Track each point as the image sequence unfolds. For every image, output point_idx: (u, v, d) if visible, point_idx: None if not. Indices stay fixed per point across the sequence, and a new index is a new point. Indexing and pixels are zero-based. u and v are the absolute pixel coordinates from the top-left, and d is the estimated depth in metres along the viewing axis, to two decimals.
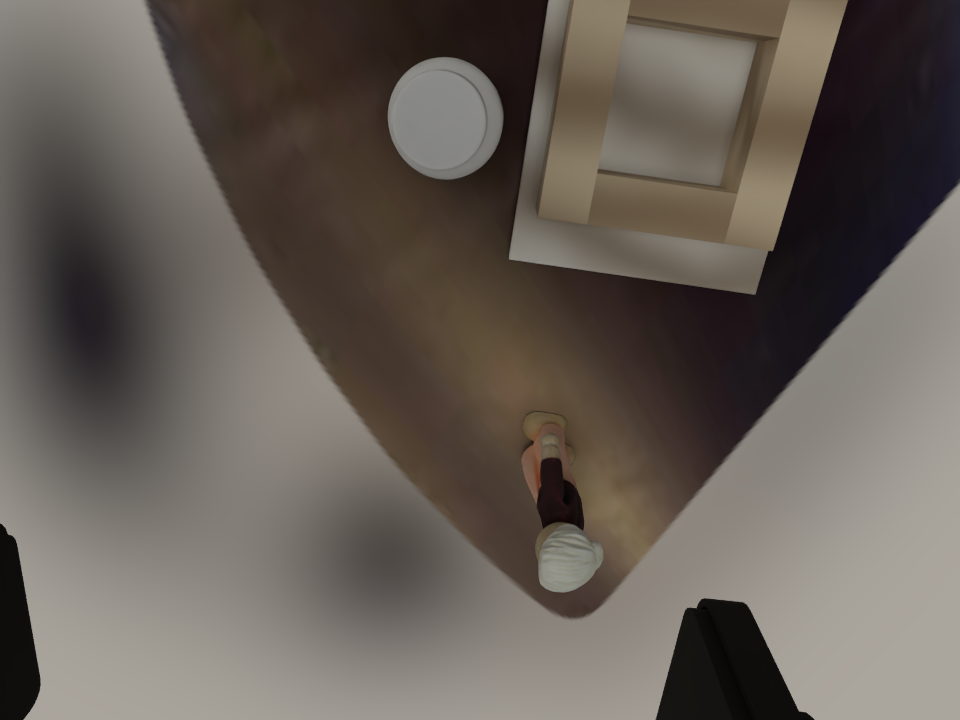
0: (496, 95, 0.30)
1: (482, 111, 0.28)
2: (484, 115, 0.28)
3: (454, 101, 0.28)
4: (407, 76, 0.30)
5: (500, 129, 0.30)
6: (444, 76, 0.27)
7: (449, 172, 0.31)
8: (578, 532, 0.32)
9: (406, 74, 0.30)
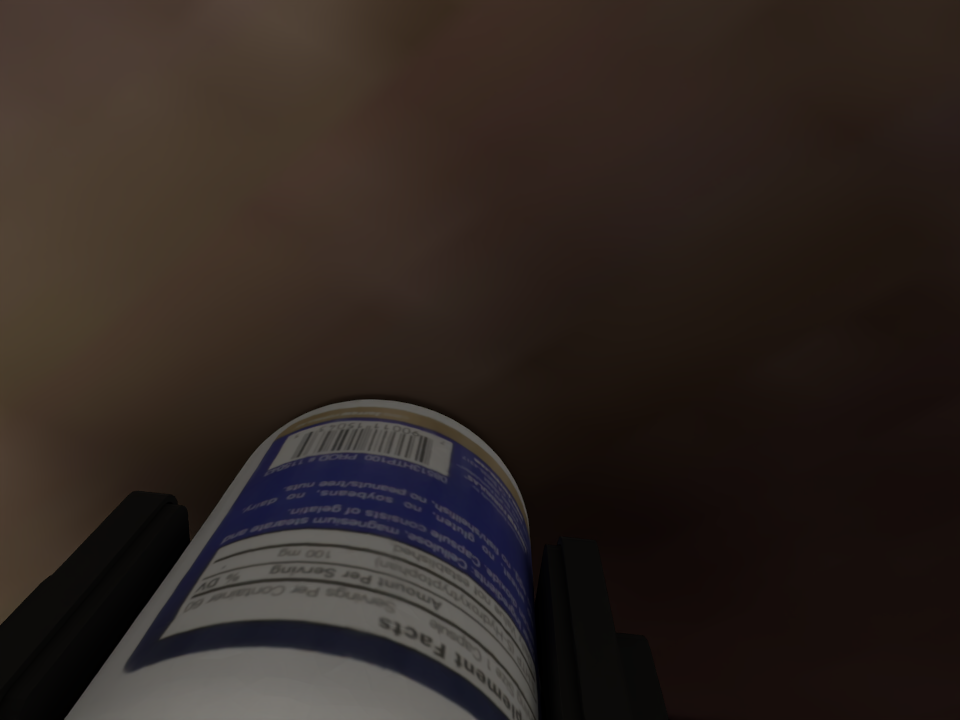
0: None
1: None
2: None
3: None
4: None
5: None
6: None
7: None
8: None
9: None
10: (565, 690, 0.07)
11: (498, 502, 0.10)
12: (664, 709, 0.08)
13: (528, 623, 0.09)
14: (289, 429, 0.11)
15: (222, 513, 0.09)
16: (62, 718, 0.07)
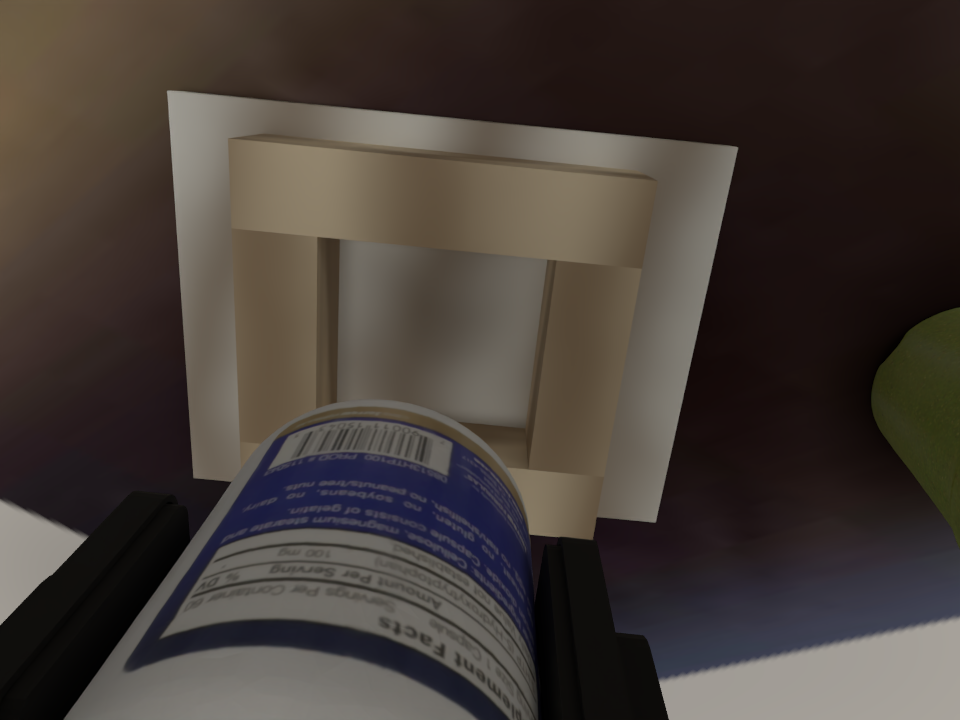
0: None
1: None
2: None
3: None
4: None
5: None
6: None
7: None
8: None
9: None
10: (565, 690, 0.07)
11: (498, 501, 0.10)
12: (664, 709, 0.08)
13: (528, 622, 0.09)
14: (289, 429, 0.11)
15: (222, 512, 0.09)
16: (62, 718, 0.07)
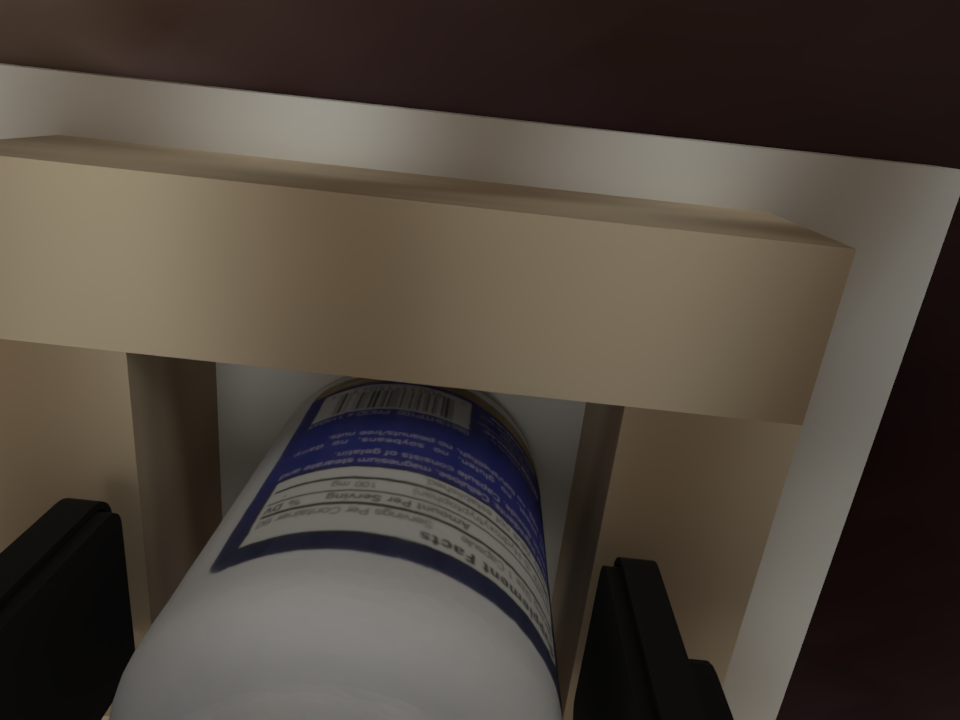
0: None
1: None
2: None
3: None
4: (489, 682, 0.07)
5: None
6: None
7: None
8: None
9: (498, 664, 0.07)
10: None
11: (513, 455, 0.11)
12: None
13: (541, 553, 0.10)
14: (325, 393, 0.12)
15: (273, 460, 0.10)
16: None
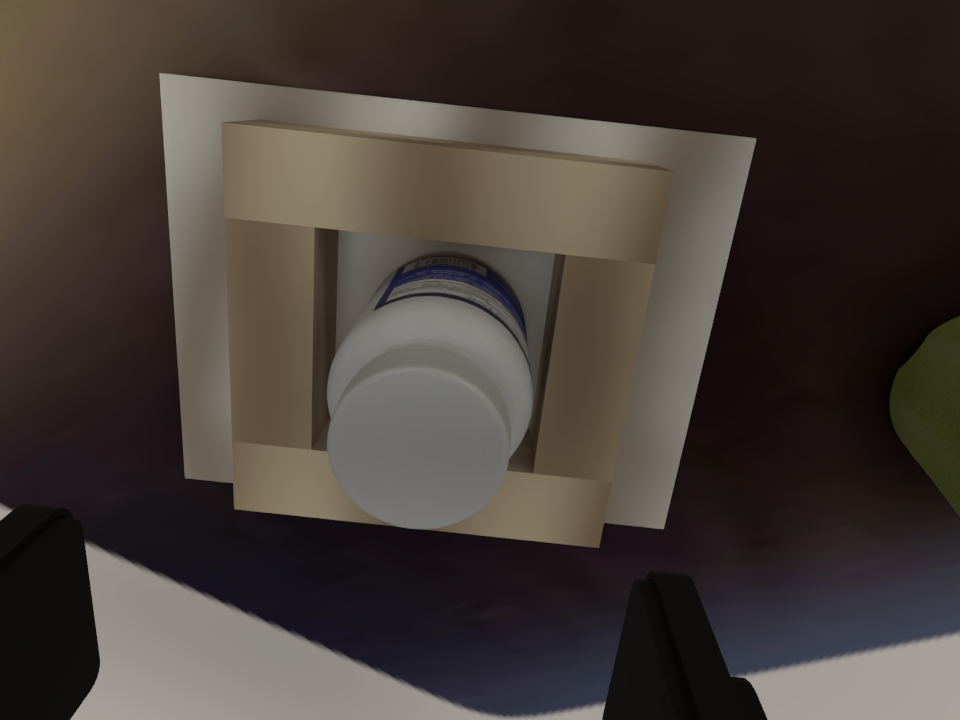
0: None
1: (440, 525, 0.15)
2: (433, 528, 0.15)
3: (454, 480, 0.15)
4: (499, 345, 0.16)
5: None
6: (498, 463, 0.15)
7: None
8: None
9: (503, 340, 0.16)
10: None
11: (509, 294, 0.21)
12: None
13: (524, 333, 0.19)
14: (404, 264, 0.21)
15: (384, 288, 0.20)
16: None
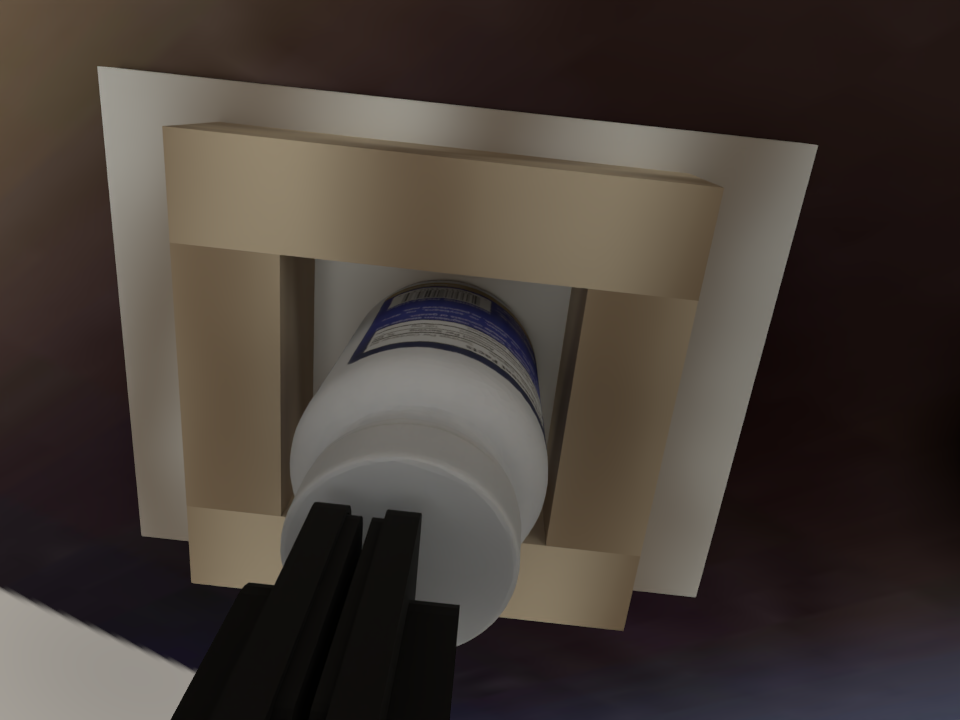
0: None
1: None
2: None
3: (448, 596, 0.11)
4: (506, 412, 0.13)
5: None
6: (504, 576, 0.11)
7: None
8: None
9: (511, 405, 0.13)
10: (336, 650, 0.08)
11: (518, 332, 0.17)
12: (451, 672, 0.08)
13: (536, 384, 0.16)
14: (392, 295, 0.18)
15: (366, 327, 0.16)
16: None
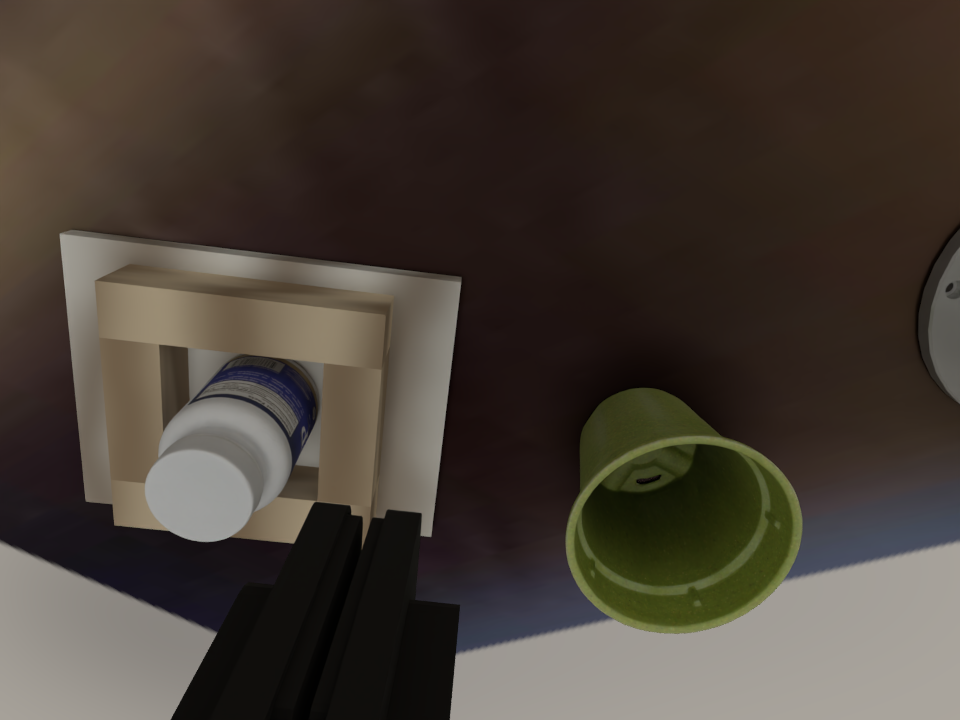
0: (256, 510, 0.28)
1: (216, 539, 0.25)
2: None
3: (222, 513, 0.25)
4: (261, 429, 0.26)
5: None
6: (246, 503, 0.25)
7: None
8: None
9: (264, 425, 0.27)
10: (337, 650, 0.08)
11: (298, 382, 0.31)
12: (452, 672, 0.08)
13: (299, 412, 0.30)
14: (230, 360, 0.31)
15: (208, 381, 0.30)
16: None
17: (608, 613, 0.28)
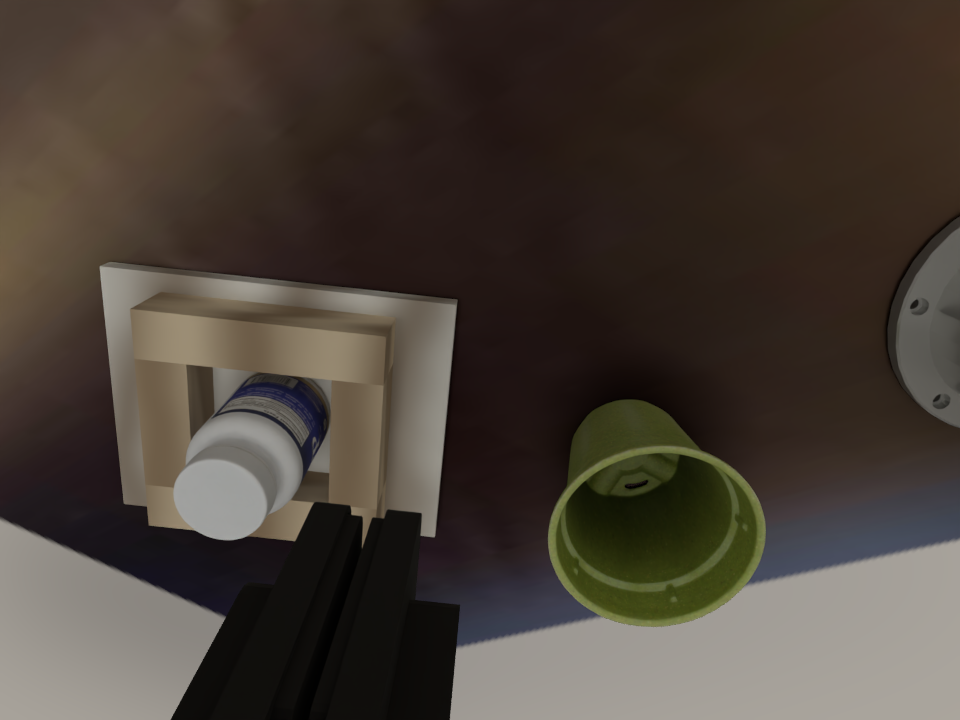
0: (272, 512, 0.31)
1: (235, 538, 0.29)
2: (232, 539, 0.29)
3: (240, 514, 0.28)
4: (274, 440, 0.30)
5: None
6: (261, 506, 0.28)
7: None
8: None
9: (277, 437, 0.30)
10: (337, 651, 0.08)
11: (310, 397, 0.34)
12: (452, 672, 0.08)
13: (310, 424, 0.33)
14: (250, 377, 0.35)
15: (230, 397, 0.33)
16: None
17: (589, 607, 0.31)
